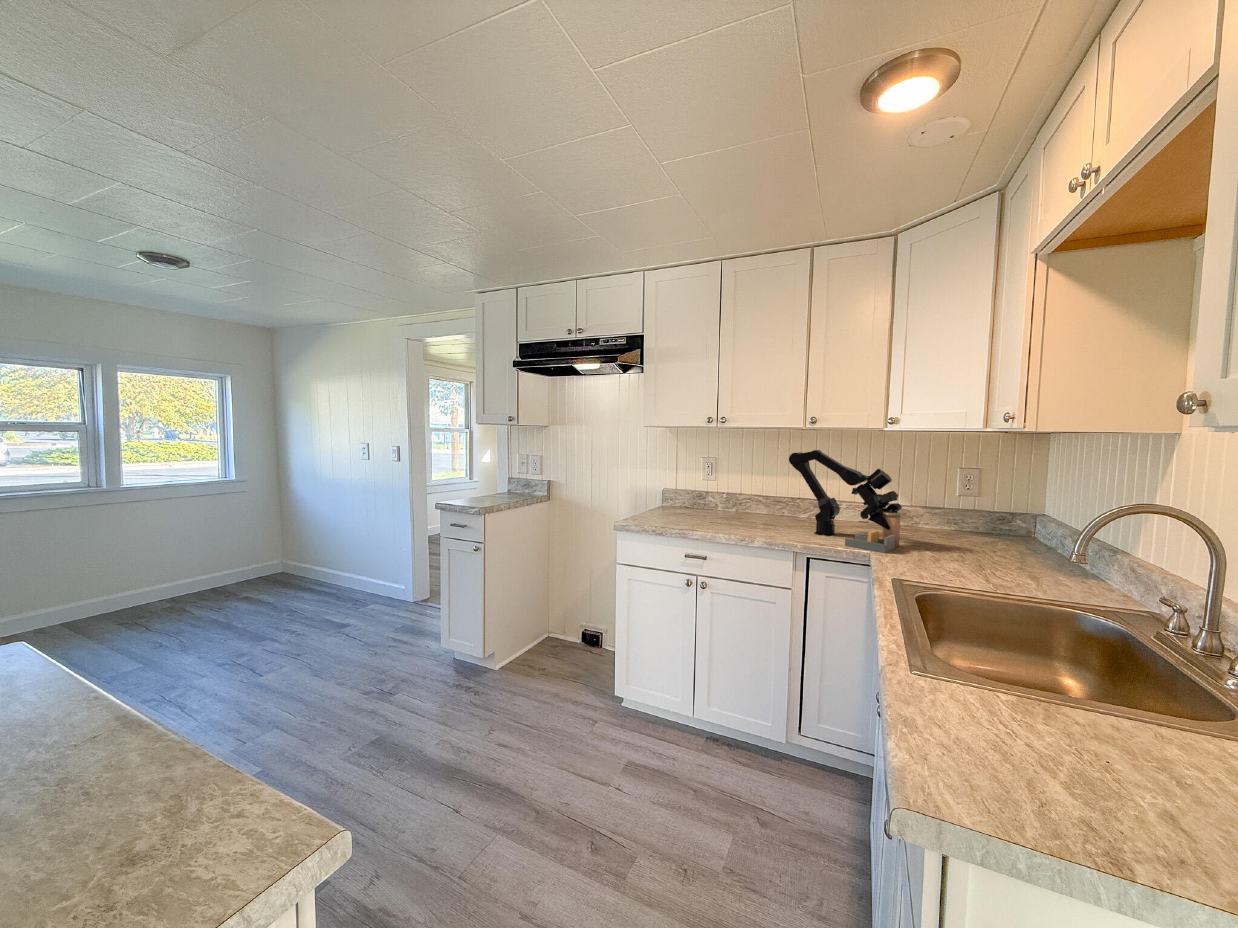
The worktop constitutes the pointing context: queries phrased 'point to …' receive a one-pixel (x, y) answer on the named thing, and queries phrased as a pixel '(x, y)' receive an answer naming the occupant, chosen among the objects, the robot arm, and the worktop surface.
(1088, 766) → the worktop surface
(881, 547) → the tray
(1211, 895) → the worktop surface
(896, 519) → the terracotta jar
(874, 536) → the block
